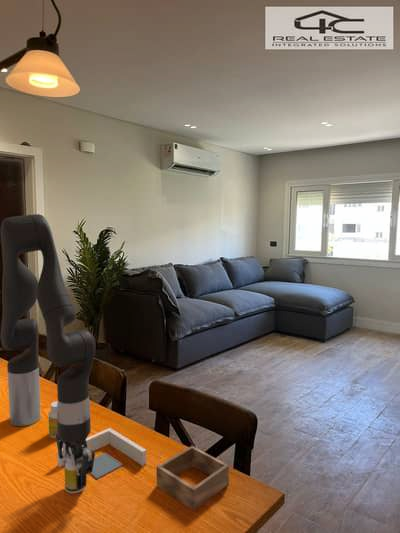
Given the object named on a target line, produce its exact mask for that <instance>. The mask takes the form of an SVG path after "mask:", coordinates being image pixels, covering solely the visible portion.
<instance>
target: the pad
mask: <svg viewBox="0 0 400 533" xmlns="http://www.w3.org/2000/svg"><path fill="white" fill-rule="evenodd" d="M123 466H124V463H122V462H121V461H119V460H117V459H116V458H115V457H114V456H112V455H110V454H108V453H107V452H103V453H101V454H100V455H97V456H96V457H94V463H93V470H92V472H91V473H89V474H90V475H91V476H93V478H95V479H96V480H98V479H101V478H102V477H105V476H106V475H108V474H110V473H111V472H113V471H115V470H117V469H119V468H121V467H123Z"/></svg>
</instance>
